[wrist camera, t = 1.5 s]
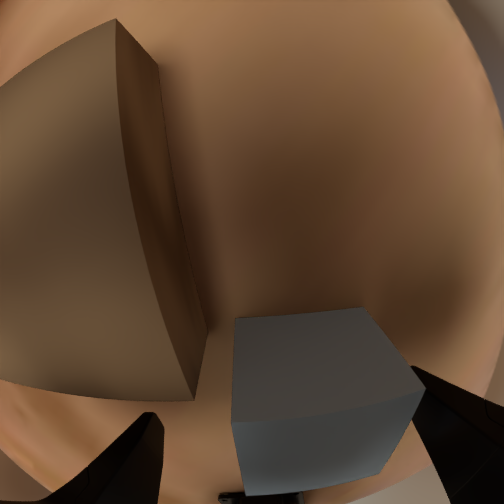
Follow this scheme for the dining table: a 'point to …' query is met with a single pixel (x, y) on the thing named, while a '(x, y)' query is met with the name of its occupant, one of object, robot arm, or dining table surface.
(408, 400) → the cube
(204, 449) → the dining table surface
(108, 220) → the walnut block
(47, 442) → the dining table surface
